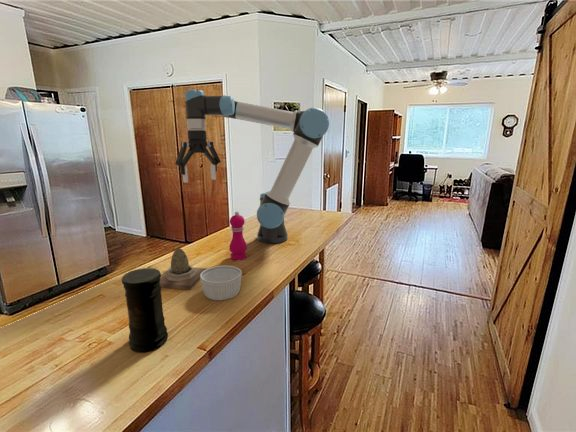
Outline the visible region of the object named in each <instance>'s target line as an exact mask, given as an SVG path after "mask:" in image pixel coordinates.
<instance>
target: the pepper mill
mask: <svg viewBox="0 0 576 432" xmlns="http://www.w3.org/2000/svg"><path fill="white" fill-rule="evenodd" d="M229 224H230V226H231V227H230V228H231V232H232V238H231V241H230V244H229V252H230V260H233V261H242V260H245V259H246V258H247V254H246V251H247V249H248V247H247V243H246V241H245V238H244V234H243V233H244V232H243V231H244V225H245V218H244V216H243V215H240V212H239V211H235V212H234V215H232V216H231V217H230V218H229Z"/></svg>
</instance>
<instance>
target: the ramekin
mask: <svg viewBox="0 0 576 432" xmlns="http://www.w3.org/2000/svg"><path fill="white" fill-rule="evenodd" d="M242 277H243V272H242V270H241V268H239V267H237V266H234V265H215V266H212V267H209V268H206V270H204V271H203V272H202V273H201V275H200V280H199V281H200V282H201V287H202V292H203V294H204V295H205V297H206V298H207V299H209V300H212V301H225V300H226V301H227V300H231V299H233V298H234V297H236V296H237V295H238V293H239V292H240V290H241V282H242Z"/></svg>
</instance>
